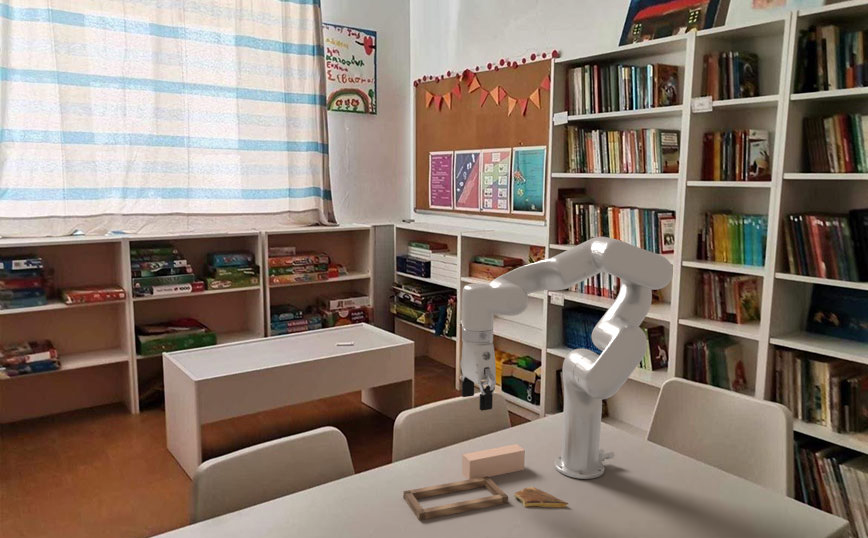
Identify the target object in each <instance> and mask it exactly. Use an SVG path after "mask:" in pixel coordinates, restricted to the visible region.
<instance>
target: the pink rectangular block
mask: <svg viewBox="0 0 868 538" xmlns="http://www.w3.org/2000/svg"><path fill="white" fill-rule="evenodd" d="M525 452H526V451H525V449H524V448H522V447H521V446H520V445H518V444H517V443H516V444H510V445H509V444H508V445H505V446H504V445H503V446H499V447H495V448H488V449H483V450H478V451H472V452H469V453H468V452H467V453H464V454H463V453H462V457H461V459H462V460H461V461H462V462H461V474H462V475H463V476H464V478H466V480H470V479H476V478H481V477H487V476H488V477H489V478H490V477H495V476H499V475H505V474H508V473H515V472H517V471H519V472H520V471H524V470H525V457H526V456H525V455H526V454H525Z"/></svg>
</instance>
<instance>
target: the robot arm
mask: <svg viewBox="0 0 868 538" xmlns="http://www.w3.org/2000/svg"><path fill="white" fill-rule="evenodd" d="M601 273H604V274H608V275H611V276H613V277H617V278H619V279H620V280H619V281H620V286H619V292H618V294H617V296H616V298H615V299H614V301H613V302H612V304H611V305H610V307H609V308H608V309H607V310H606V312H605V313H604V315H602V317H601V318H600V319H599V321H598V322H597V323H596V324H595V326H594V328H593V330H592V332H591V341H592V343H593V345H594V346H595V347H596V348H597V349H598V350H600V351H602V352H601V353H600V354H597V352H595V351H593V350H590V349H587V348H575V349H574V350H571V351H570V352H568V353H567V355H566V356H565V357H564V360H563V362H562V371H561V372H562V381H563V383H562V384H563V415H562V417H563V418H562V433H561V437H562V438H561V455H559V456H557V457H556V458H555V460H554V466H555V467H554V468H555V469H556V470H557V471H558V472H559V473H560V474H562V475H565V476H567V477H569V478H572V479H573V478H575V479H580V480H589V479H596V478H600V477H601V476H602V475H603V474H604V472H605V465H604V463H603V462H605V460H611V459H614V458H615V453H614V451H613V450H608V451H605V450H604V449H603V448H600V444H601V429H602V427H601V426H602V413H603V412H602V411H603V410H602V409H603V400H606V399H609V398H611V397H612V396H613V395H615V394H616V393H617V392H618V391H619V390H620V389H621V388H622V387H623V385H624V384H625V383H626V381H627V380H629V378H630V376H631V375H632V373H633V372H634V371H635V370H636V369H637V367H638V366H639V364H640V363H641V361H643V359H644V357H645V355H646V352H647V349H648V348H647V347H648V338H647V335H646V333H645V332H644V331H643V329H642V328H641V327H640V326H641V324H642V323H643V322H644V319H645V318H646V316H647V315H648V313H649V312H650V310H651V307H652V302H653V301H652V299H653V295H652V293H653V292H652V290H653V291H654V290H661V289H664V288H665V287H667V285H669V284H670V282H671V281H672V279H673V276H674V270H673V265H672V263H671V262H670V261H669V259H667V258H666V257H665V256H663V255H660V254H658V253H655V252H653V251H649V250H646V249H644V248H642V247H638V246H636V245H634V244H630V243H628V242H625V241H623V240H619V239H616V238H611V237H607V236H596V237H593V238H590V239H588V240H586V241H584V242H581V243H579V244H577V245H575V246H573V247H571V248H569V249H567V250H565V251H562V252H561V253H558V254H556V255H555V256H552V257H549V258H546V259H542V260H539V261H535V262H534V263H533V262H532V263H528V264H526V265H522V266H519V267H517V268H515V269H513V270H510V271H508V272H506V273H504V274H501V275H499V276H497V277H496V278H494V279H493V280H492V281H490V282H489V284H487V283H469V284H466V285H464V287H463V288H462V296H461V297H462V300H461V302H462V307H461V308H462V313H461V315H462V316H461V318H462V320H461V321H462V322H461V341H462V346H461V347H462V348H461V360H459V365H460V366H459V367H460V374H461V397H462V398H469V397H474V396H475V385H478V386H479V390H480V393H479V411H482V412H483V411H488V410H492V409H493V395H494V393H495V388H496V387H495V386H496V383H497V380H496V378H497V377H496V357H495V355H496V353H495V346H494V343H493V342H494V316H495V315H498V316H499V315H500V316H509V317H511V316H512V317H513V316H514V317H515V316H518V315H520V314H522V313H523V312H525V310H527V309H528V306H529V301H530V300H529V294H530V295H531V294H533V293H536V292H542V291H544V292H545V291H560V290H562V291H563V290H566V289H569V288H570V289H571V288H572V287H573V286H575V285H578V284H579V283H581V282H584V281H586V280H588V279H589V278H592V277H594V276H596V275H599V274H601Z"/></svg>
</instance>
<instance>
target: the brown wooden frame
mask: <svg viewBox="0 0 868 538" xmlns="http://www.w3.org/2000/svg"><path fill="white" fill-rule="evenodd" d="M483 487H485V488H486V490H488V491H489V492H490V493H491V494H492V495H491V496H484V497H481V498H480V497H479V498H473V499H468V500H464V501H463V500H462V501H459V502H452V503H448V504H444V505H438V506H432V507H427V508H423V507H422V505H421V504H420V503H419V501H418V500H417V499H421V498H422V499H423V498H427V497H432V496H433V497H435V496H440V495H444V494H450V493H456V492H460V491H466V490H471V489H472V490H473V489H477V488H483ZM402 496H403V499H404V501H405V502H406V504H407V505H408V507H410V509H411V511H412V512H413V513H414V515H415V516H416V518H417V519H418V520H419V521H422V520H429V519H432V518H433V519H434V518H438V517H444V516H447V515H453V514H458V513H463V512H468V511H473V510H478V509H484V508H489V507H494V506H499V505H503V504H508V503H509V496H508V495H507V493H506V492H504V490H502V489H501V487H499V486H498V485H497V484H496V483H495V482H494V481H493V480H492V479H491V478H490V477H488V476H487V477H481V478H476V479H470V480H468V479H464V480H459V481H455V482H454V481H453V482H448V483H442V484H438V485H437V484H436V485H432V486H426V487H420V488H415V489H409V490H404V491H403V495H402Z"/></svg>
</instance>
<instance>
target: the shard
mask: <svg viewBox="0 0 868 538" xmlns="http://www.w3.org/2000/svg"><path fill="white" fill-rule="evenodd" d="M513 497H514V498H516V499H517V500H519V501H520V502H521V503H522V504H523V506H524V508H526V507H541V508H542V507H545V508H565V507H567V506H568V505H569V503H568V502H566V501H564V500H562V499H559V498H557V497H556V496H554V495H552V494H550V493H548V492H546V491H544V490H541V489H540V488H539V489H538V488H536V487H534V486H532V487H525V488H523V489H521V490H519V491H516V492H515V493H514V494H513Z"/></svg>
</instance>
